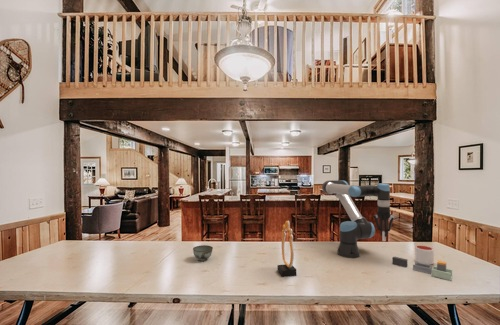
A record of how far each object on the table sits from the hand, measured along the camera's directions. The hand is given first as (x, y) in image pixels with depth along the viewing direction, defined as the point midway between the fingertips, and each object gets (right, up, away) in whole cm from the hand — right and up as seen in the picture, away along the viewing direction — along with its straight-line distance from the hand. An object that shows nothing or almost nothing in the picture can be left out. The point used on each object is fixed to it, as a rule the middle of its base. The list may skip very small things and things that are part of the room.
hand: (384, 241), depth 176 cm
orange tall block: (+21, -13, -24) cm, 35 cm away
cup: (+26, -14, -2) cm, 30 cm away
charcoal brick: (+7, -14, -6) cm, 17 cm away
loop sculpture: (-69, -14, -20) cm, 73 cm away
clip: (+16, -14, -15) cm, 26 cm away
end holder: (+21, -14, -24) cm, 35 cm away
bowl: (-124, -14, +3) cm, 125 cm away
